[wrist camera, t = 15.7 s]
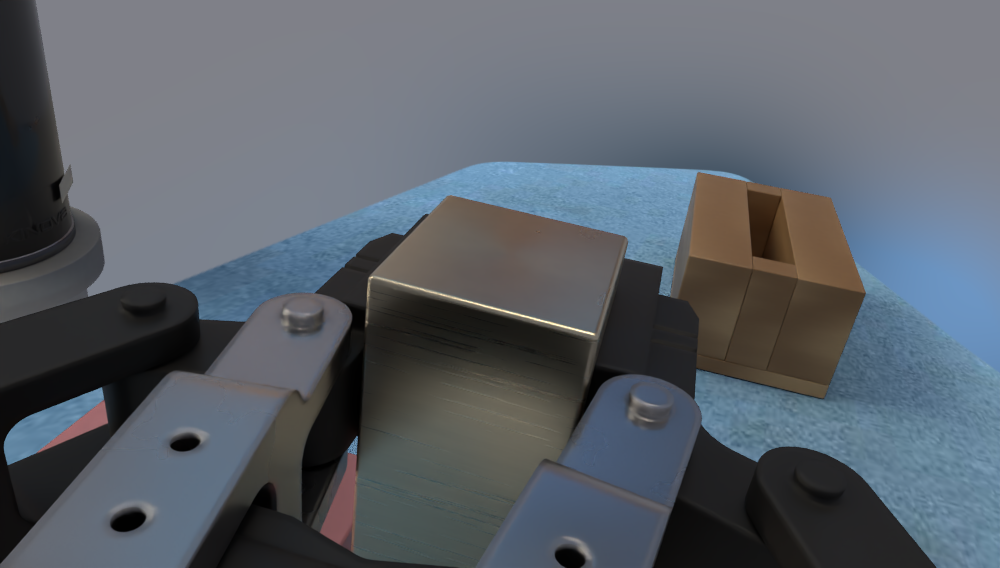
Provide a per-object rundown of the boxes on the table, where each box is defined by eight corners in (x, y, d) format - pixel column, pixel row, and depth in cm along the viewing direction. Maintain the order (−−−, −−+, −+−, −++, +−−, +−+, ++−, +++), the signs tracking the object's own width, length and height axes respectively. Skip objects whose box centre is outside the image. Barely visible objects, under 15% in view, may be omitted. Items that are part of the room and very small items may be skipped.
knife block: (661, 359, 38) (688, 254, 35) (675, 257, 49) (697, 171, 46) (823, 399, 37) (866, 292, 34) (800, 284, 48) (831, 197, 45)
